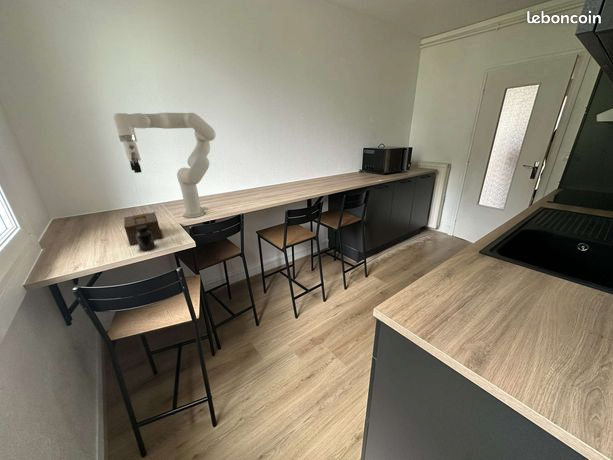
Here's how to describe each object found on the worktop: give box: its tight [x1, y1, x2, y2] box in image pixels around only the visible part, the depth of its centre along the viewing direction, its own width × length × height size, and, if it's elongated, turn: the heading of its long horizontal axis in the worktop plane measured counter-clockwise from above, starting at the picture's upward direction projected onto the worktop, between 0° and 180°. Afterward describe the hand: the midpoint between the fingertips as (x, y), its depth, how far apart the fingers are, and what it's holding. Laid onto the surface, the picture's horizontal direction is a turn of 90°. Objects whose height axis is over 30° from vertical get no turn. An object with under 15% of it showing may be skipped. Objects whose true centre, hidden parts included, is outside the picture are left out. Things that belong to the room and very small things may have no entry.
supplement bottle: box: [136, 225, 156, 252], centre depth 124 cm, size 7×7×12 cm
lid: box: [123, 211, 159, 229], centre depth 134 cm, size 17×15×5 cm
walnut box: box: [124, 221, 163, 246], centre depth 138 cm, size 16×15×10 cm
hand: (136, 171), depth 140 cm, fingers open, 9 cm apart
